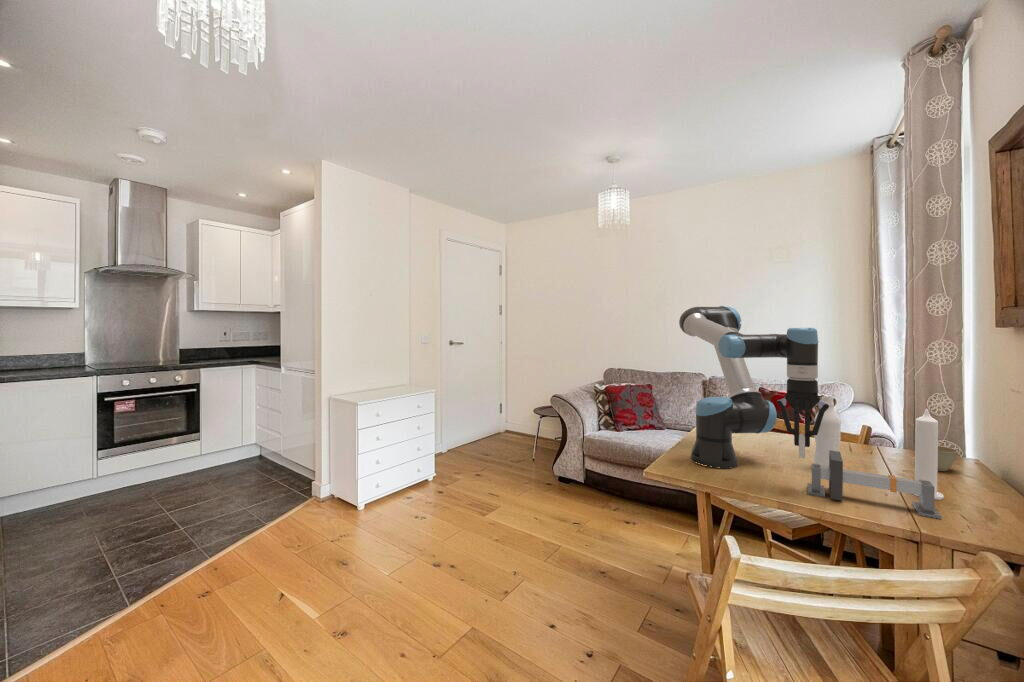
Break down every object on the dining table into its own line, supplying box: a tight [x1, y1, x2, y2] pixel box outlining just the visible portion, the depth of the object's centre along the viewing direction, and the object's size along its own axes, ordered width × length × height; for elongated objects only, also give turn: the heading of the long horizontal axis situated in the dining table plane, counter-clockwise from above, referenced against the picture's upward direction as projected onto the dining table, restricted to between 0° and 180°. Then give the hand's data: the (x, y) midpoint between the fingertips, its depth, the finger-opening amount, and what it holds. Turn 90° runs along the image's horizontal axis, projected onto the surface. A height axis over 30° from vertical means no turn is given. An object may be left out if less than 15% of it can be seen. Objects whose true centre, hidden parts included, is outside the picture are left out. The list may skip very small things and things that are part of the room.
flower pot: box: [937, 445, 959, 472], centre depth 136 cm, size 10×10×7 cm
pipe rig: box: [806, 463, 942, 520], centre depth 111 cm, size 27×8×8 cm, turn 54°
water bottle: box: [813, 396, 842, 467], centre depth 135 cm, size 7×7×25 cm
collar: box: [828, 450, 844, 502], centre depth 115 cm, size 2×11×11 cm, turn 143°
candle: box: [912, 408, 945, 501], centre depth 114 cm, size 7×7×25 cm
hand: (801, 456), depth 119 cm, fingers closed
